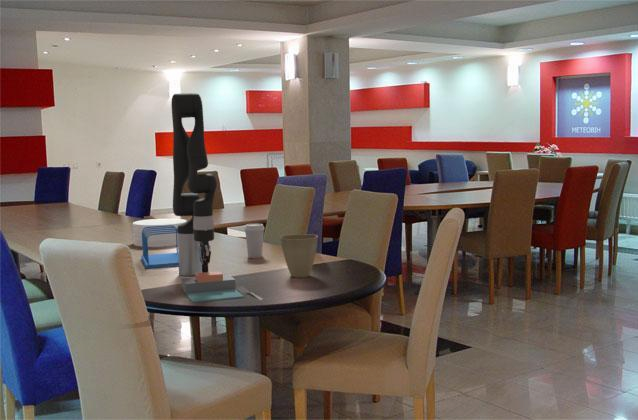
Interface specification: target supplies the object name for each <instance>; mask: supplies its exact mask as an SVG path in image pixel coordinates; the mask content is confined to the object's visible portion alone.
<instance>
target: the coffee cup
mask: <svg viewBox="0 0 638 420" xmlns="http://www.w3.org/2000/svg"><path fill="white" fill-rule="evenodd" d="M243 230H244V232H245V240H246V248H247V249H246V250H247V257H248V258H250V259H259V258H262V257H263V248H264V231H265V230H266V229H265V226H264V224H263V223H247V224H245V227H244V229H243Z"/></svg>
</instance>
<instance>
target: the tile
mask: <svg viewBox="0 0 638 420" xmlns="http://www.w3.org/2000/svg"><path fill="white" fill-rule="evenodd" d="M223 275H224V274H223V272H221V271H219V270H217V271H208V272H203V273H195V275H194V276H195V280H196V281H197V282H198V283H201V282H213V281H223Z"/></svg>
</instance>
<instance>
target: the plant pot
mask: <svg viewBox="0 0 638 420" xmlns="http://www.w3.org/2000/svg"><path fill="white" fill-rule="evenodd" d="M318 239H319V236H318V235H316V234H310V233H309V234H307V233H304V234H303V233H299V234H298V233H296V234H295V233H294V234H287V235H283V236H280V242H281V248H282V252H283V256H284V260H285V263H286V267H287V269H288V271H289V274H290V276H291V278H308V277H309V276H310V275H311V273H312V269H313V266H314V262H315V257H316V255H317V254H316V253H317V249H318V248H317V246H318Z"/></svg>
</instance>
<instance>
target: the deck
mask: <svg viewBox="0 0 638 420" xmlns="http://www.w3.org/2000/svg"><path fill="white" fill-rule="evenodd" d="M180 282H181V285H180V286H181V290H182V292H183V293H184V294H185V295H186V294H188V293H199V292H210V291H221V290H231V289H236V279H235V278H234V277H233V276H232V275H230V274H223V281H213V282H201V283H198V282H197V281H196V280H195V277H184V278H181V279H180Z"/></svg>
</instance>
